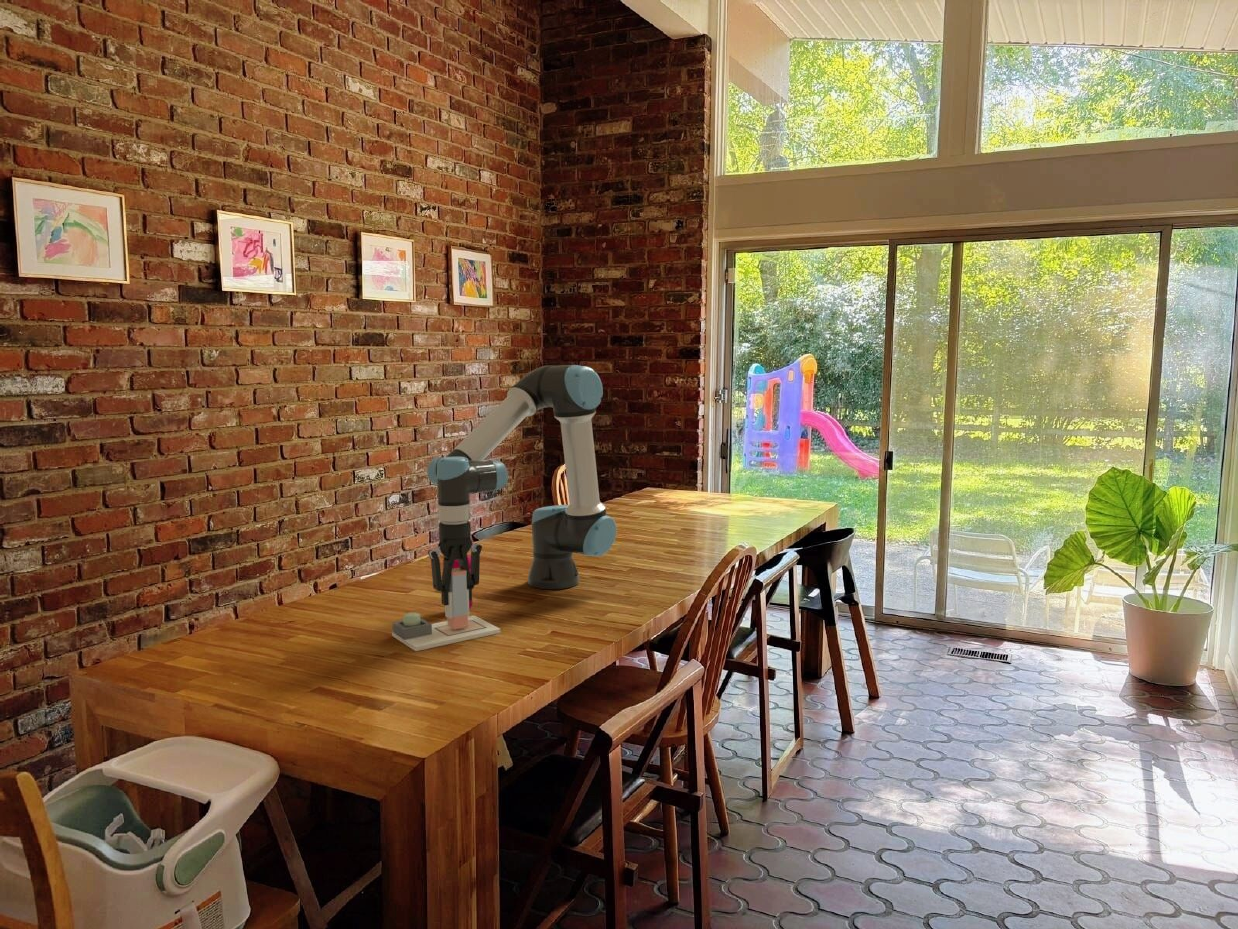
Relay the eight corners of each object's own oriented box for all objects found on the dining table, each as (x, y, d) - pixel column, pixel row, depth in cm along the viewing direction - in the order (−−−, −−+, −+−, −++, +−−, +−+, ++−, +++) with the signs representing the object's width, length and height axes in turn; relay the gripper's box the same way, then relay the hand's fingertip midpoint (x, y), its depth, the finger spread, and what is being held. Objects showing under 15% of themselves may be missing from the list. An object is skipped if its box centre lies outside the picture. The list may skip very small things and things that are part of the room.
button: (416, 623, 215) (416, 611, 215) (423, 627, 212) (422, 615, 212) (401, 626, 213) (400, 614, 212) (407, 631, 210) (407, 618, 209)
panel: (474, 619, 227) (474, 606, 226) (500, 632, 215) (500, 619, 215) (392, 636, 214) (391, 622, 213) (415, 651, 203) (414, 636, 202)
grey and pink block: (461, 623, 218) (459, 567, 216) (468, 626, 215) (466, 570, 213) (447, 625, 215) (445, 569, 214) (454, 629, 212) (452, 572, 211)
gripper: (478, 515, 220) (481, 606, 223) (415, 523, 210) (418, 618, 213) (492, 519, 214) (495, 613, 217) (428, 527, 204) (431, 626, 207)
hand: (457, 615), depth 215 cm, fingers closed on grey and pink block, 4 cm apart
